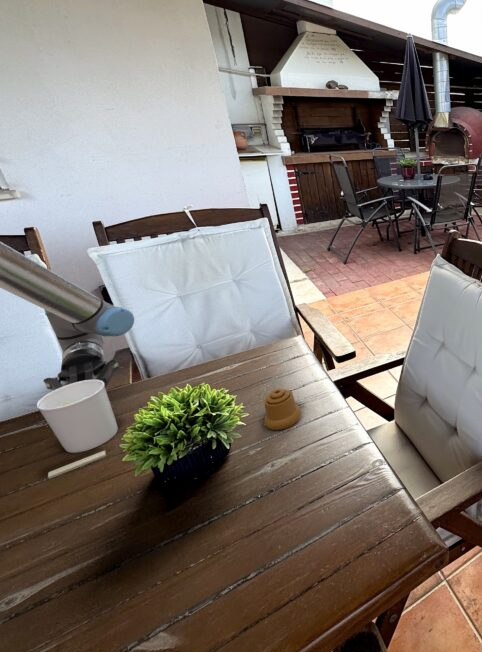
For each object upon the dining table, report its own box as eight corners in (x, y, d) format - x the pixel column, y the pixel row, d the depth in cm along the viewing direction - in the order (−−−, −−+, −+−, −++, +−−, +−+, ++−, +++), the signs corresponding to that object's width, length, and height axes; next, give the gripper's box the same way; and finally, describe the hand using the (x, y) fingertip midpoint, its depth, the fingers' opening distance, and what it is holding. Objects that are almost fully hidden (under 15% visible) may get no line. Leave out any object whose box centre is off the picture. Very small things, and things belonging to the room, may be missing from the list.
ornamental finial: (273, 437, 88) (260, 421, 92) (307, 419, 93) (294, 405, 97) (265, 407, 85) (252, 393, 89) (301, 390, 90) (287, 378, 95)
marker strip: (49, 479, 77) (47, 477, 77) (49, 474, 78) (48, 472, 78) (106, 456, 82) (105, 454, 82) (105, 452, 84) (104, 450, 83)
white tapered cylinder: (59, 439, 87) (36, 394, 83) (120, 416, 94) (101, 373, 89) (60, 464, 81) (35, 416, 76) (125, 437, 87) (106, 392, 83)
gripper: (39, 359, 98) (31, 403, 82) (112, 339, 107) (117, 376, 91) (52, 384, 101) (45, 432, 85) (122, 363, 109) (128, 403, 94)
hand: (82, 403), depth 88 cm, fingers closed
